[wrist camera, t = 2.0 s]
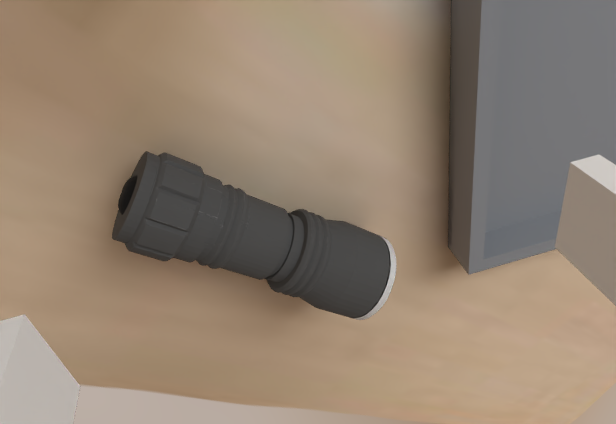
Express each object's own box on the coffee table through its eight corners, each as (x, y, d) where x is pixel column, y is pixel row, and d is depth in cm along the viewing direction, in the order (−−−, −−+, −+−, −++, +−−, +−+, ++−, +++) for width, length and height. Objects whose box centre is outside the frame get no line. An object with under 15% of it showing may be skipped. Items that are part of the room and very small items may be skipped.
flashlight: (136, 140, 26) (100, 233, 26) (147, 146, 21) (102, 260, 21) (361, 228, 33) (331, 301, 33) (408, 248, 28) (373, 334, 28)
